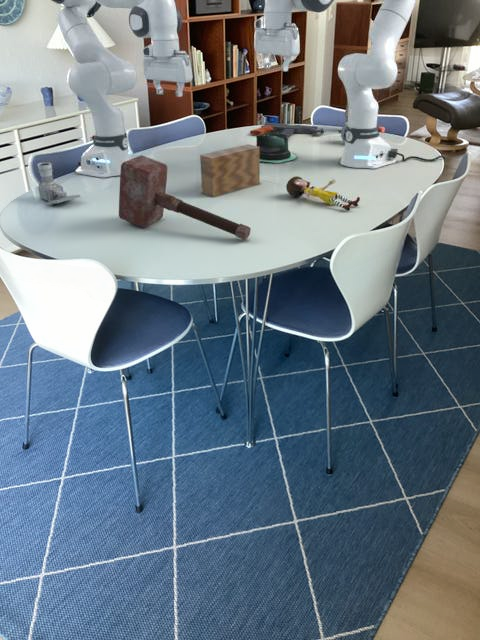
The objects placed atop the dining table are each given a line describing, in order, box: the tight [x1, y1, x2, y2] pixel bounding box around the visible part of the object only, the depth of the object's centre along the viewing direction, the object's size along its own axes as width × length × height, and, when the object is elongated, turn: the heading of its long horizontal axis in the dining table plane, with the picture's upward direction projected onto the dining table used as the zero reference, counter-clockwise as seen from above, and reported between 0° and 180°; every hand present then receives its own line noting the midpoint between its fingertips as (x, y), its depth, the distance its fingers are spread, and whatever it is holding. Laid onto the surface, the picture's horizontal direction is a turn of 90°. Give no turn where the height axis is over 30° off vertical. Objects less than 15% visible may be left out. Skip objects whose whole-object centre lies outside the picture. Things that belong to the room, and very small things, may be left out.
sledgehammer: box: [118, 154, 252, 241], centre depth 157 cm, size 17×10×40 cm
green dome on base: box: [255, 132, 297, 164], centre depth 229 cm, size 15×19×20 cm
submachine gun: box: [249, 122, 325, 138], centre depth 263 cm, size 32×3×25 cm
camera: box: [37, 161, 82, 205], centre depth 182 cm, size 9×12×15 cm
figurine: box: [285, 176, 361, 211], centre depth 178 cm, size 13×8×25 cm
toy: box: [338, 121, 347, 142], centre depth 244 cm, size 9×9×15 cm
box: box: [199, 143, 261, 198], centre depth 191 cm, size 21×6×13 cm, turn 131°
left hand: (169, 95), depth 187 cm, fingers open, 8 cm apart
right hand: (275, 69), depth 184 cm, fingers open, 8 cm apart
